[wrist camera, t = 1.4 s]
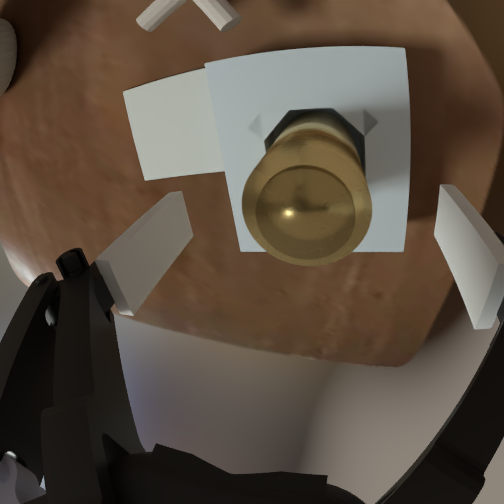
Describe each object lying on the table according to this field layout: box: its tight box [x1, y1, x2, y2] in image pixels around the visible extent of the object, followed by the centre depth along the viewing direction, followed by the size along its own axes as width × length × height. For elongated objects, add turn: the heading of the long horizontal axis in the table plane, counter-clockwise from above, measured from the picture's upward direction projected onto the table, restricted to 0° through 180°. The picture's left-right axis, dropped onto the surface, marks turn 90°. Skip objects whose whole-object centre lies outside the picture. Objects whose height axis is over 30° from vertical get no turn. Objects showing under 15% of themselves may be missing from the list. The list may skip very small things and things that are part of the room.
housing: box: [205, 46, 411, 252], centre depth 23 cm, size 16×14×5 cm
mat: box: [123, 68, 225, 181], centre depth 27 cm, size 10×10×1 cm
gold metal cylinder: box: [242, 110, 372, 266], centre depth 19 cm, size 6×6×14 cm
